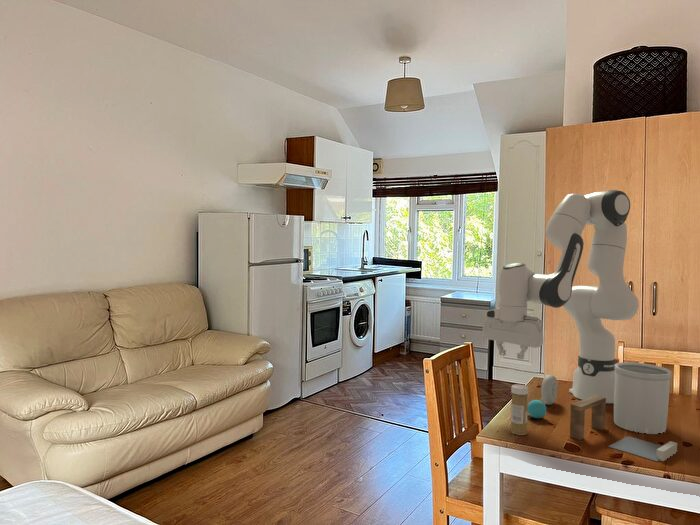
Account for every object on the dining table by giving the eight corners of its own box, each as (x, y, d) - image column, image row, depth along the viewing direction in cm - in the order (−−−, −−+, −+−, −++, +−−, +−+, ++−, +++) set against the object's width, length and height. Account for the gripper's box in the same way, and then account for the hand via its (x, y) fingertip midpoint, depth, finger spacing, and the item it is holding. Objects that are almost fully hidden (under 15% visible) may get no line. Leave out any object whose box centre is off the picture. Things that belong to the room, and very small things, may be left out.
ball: (533, 413, 167) (533, 396, 167) (549, 418, 163) (550, 400, 163) (523, 417, 164) (524, 399, 163) (539, 422, 159) (540, 403, 159)
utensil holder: (674, 426, 158) (676, 367, 157) (662, 439, 147) (665, 376, 146) (620, 414, 168) (622, 359, 167) (606, 426, 157) (608, 367, 156)
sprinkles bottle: (530, 434, 149) (531, 386, 149) (519, 437, 147) (521, 389, 146) (517, 429, 153) (518, 382, 153) (506, 432, 151) (508, 385, 150)
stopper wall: (670, 450, 139) (670, 441, 139) (676, 452, 138) (677, 443, 137) (656, 459, 133) (656, 449, 133) (663, 461, 132) (663, 451, 132)
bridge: (569, 436, 148) (570, 404, 147) (594, 425, 157) (595, 395, 156) (580, 440, 145) (581, 406, 145) (604, 428, 155) (605, 397, 154)
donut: (548, 399, 182) (549, 371, 182) (558, 401, 180) (559, 372, 180) (539, 406, 174) (540, 376, 174) (550, 408, 172) (550, 378, 172)
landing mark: (627, 436, 148) (628, 436, 148) (675, 450, 139) (675, 449, 139) (608, 446, 141) (608, 446, 141) (657, 461, 131) (657, 461, 131)
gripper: (547, 317, 163) (546, 361, 164) (491, 309, 179) (490, 350, 180) (536, 318, 159) (535, 364, 160) (480, 311, 175) (479, 352, 176)
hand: (511, 357), depth 170 cm, fingers open, 5 cm apart
